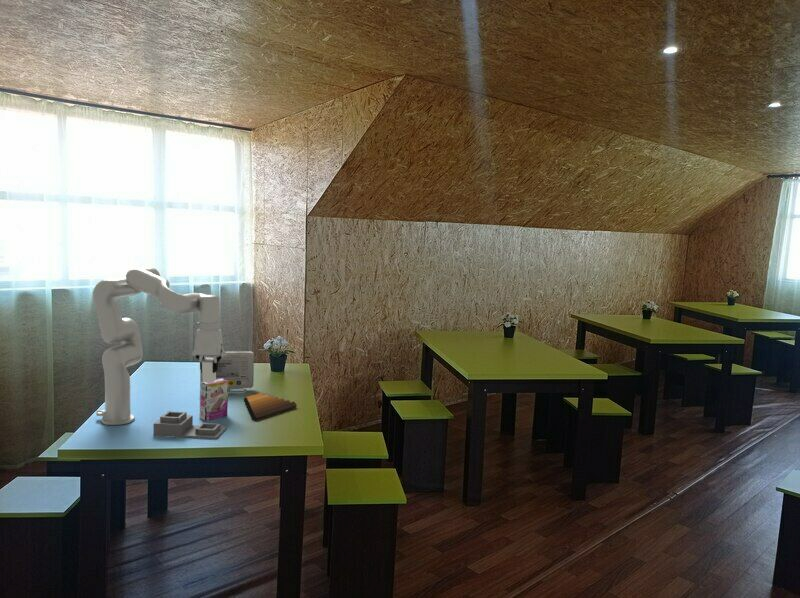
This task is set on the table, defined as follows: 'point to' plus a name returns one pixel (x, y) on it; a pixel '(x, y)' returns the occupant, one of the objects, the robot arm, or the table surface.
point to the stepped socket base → (185, 427)
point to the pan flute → (266, 406)
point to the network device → (236, 370)
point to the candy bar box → (213, 399)
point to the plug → (208, 370)
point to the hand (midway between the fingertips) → (208, 371)
